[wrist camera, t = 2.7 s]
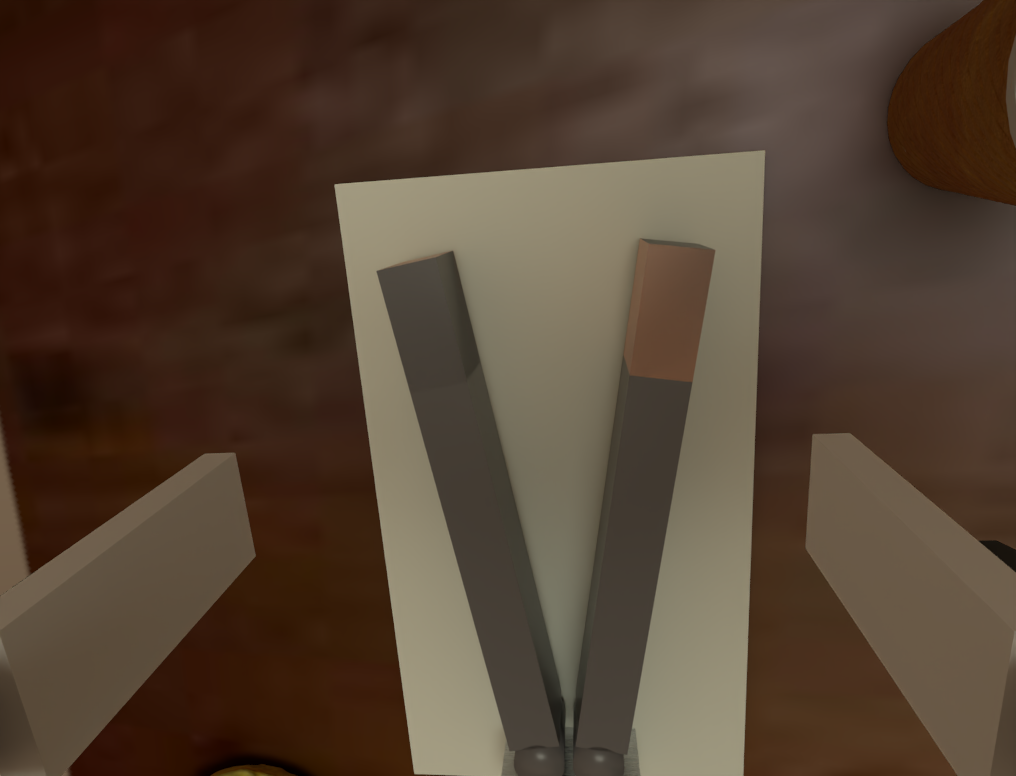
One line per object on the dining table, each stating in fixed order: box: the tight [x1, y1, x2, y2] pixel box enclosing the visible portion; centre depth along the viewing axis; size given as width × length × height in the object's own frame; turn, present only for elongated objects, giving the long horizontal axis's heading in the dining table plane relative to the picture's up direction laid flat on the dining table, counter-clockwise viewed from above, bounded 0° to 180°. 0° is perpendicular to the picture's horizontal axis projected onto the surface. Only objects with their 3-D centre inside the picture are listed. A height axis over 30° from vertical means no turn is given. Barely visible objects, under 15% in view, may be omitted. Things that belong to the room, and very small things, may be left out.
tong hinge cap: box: [501, 727, 640, 776], centre depth 33 cm, size 7×2×4 cm, turn 94°
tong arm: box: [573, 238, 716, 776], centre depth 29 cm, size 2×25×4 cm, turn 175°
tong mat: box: [335, 150, 765, 776], centre depth 32 cm, size 18×32×1 cm, turn 4°
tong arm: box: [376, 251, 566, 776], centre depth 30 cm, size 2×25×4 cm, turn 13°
